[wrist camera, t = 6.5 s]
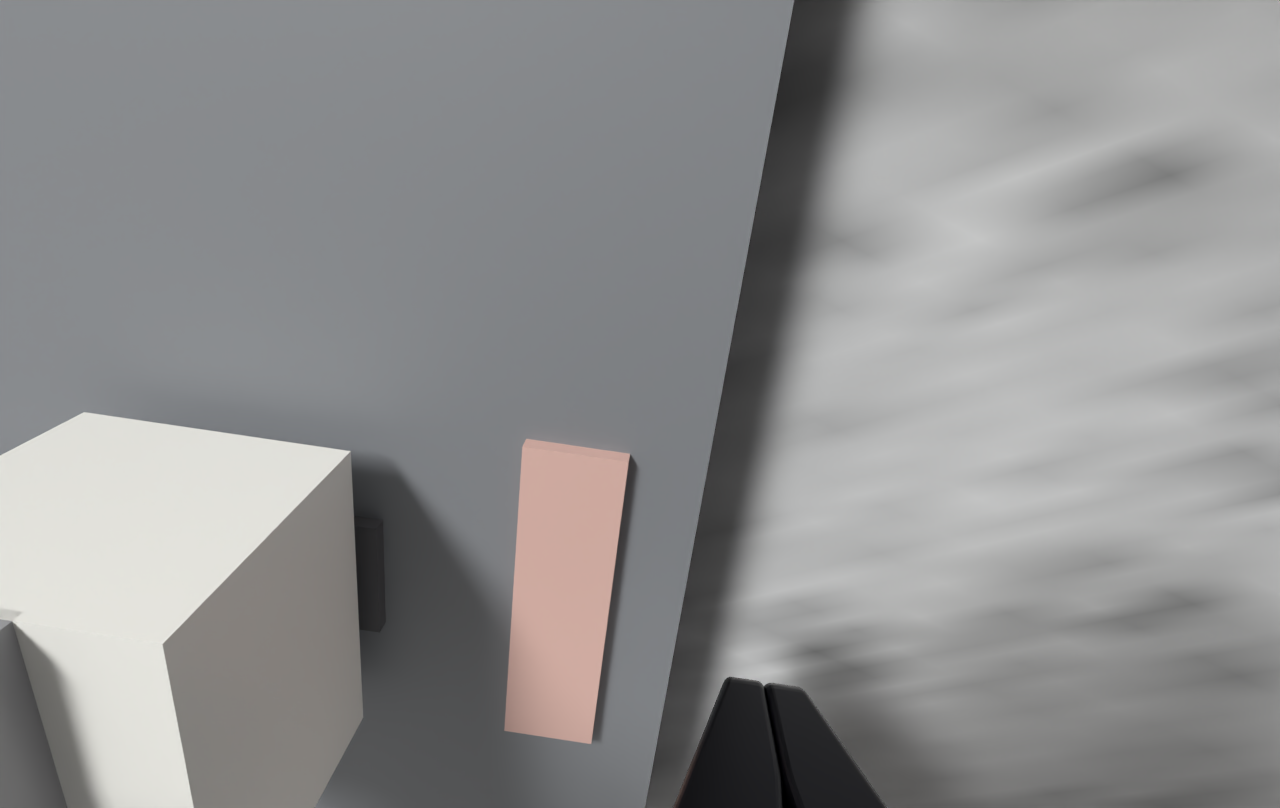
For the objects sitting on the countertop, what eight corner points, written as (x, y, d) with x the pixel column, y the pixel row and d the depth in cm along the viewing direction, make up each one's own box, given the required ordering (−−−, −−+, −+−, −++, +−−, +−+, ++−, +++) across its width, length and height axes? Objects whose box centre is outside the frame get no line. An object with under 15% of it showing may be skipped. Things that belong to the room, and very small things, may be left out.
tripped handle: (350, 450, 8) (110, 698, 5) (363, 717, 9) (190, 1038, 6) (84, 412, 8) (-340, 630, 5) (141, 683, 9) (-142, 983, 6)
